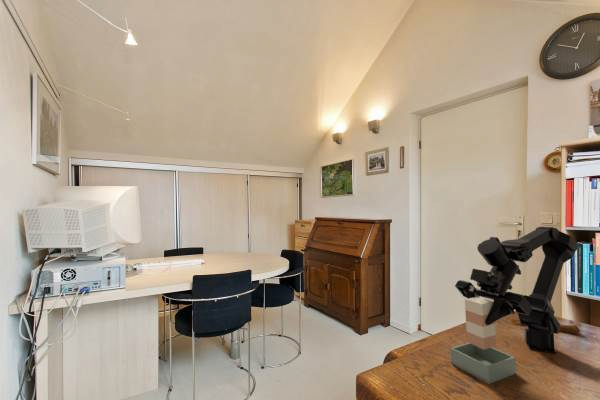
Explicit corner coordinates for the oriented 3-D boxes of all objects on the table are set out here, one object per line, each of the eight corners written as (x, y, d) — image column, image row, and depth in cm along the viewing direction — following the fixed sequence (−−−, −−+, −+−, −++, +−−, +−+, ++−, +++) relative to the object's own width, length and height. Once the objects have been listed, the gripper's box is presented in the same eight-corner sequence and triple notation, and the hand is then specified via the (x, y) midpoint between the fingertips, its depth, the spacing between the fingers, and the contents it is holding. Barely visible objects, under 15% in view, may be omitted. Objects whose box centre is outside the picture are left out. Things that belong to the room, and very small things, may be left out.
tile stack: (478, 338, 83) (476, 296, 84) (496, 345, 79) (494, 301, 79) (466, 341, 81) (464, 299, 82) (484, 349, 77) (482, 304, 77)
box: (476, 354, 87) (476, 340, 87) (515, 373, 77) (515, 357, 77) (450, 363, 83) (450, 348, 83) (488, 383, 73) (488, 366, 73)
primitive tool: (511, 325, 109) (510, 315, 110) (511, 320, 114) (510, 311, 114) (580, 337, 98) (580, 327, 98) (577, 332, 102) (577, 322, 103)
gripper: (457, 254, 91) (433, 294, 86) (522, 264, 74) (496, 314, 69) (475, 276, 94) (453, 316, 89) (542, 290, 77) (518, 340, 72)
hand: (476, 320), depth 80 cm, fingers closed on tile stack, 5 cm apart
